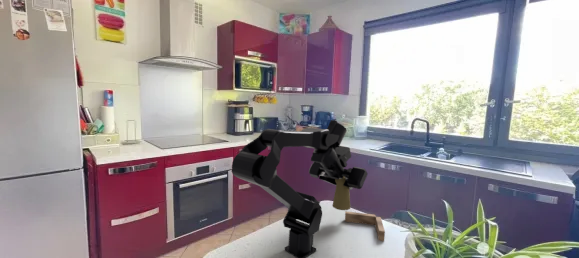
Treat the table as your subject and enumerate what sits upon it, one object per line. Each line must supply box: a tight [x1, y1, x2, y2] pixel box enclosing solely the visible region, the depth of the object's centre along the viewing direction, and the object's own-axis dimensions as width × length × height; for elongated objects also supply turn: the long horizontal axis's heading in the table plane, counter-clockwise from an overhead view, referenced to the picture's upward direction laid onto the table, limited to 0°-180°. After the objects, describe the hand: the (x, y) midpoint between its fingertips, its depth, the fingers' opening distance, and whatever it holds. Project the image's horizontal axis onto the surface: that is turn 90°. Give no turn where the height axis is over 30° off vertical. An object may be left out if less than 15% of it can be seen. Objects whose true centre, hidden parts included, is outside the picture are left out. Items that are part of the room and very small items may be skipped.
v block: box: [344, 210, 386, 242], centre depth 87 cm, size 8×16×3 cm, turn 33°
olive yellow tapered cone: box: [332, 176, 352, 211], centre depth 88 cm, size 6×6×11 cm
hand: (344, 186), depth 89 cm, fingers closed on olive yellow tapered cone, 5 cm apart
